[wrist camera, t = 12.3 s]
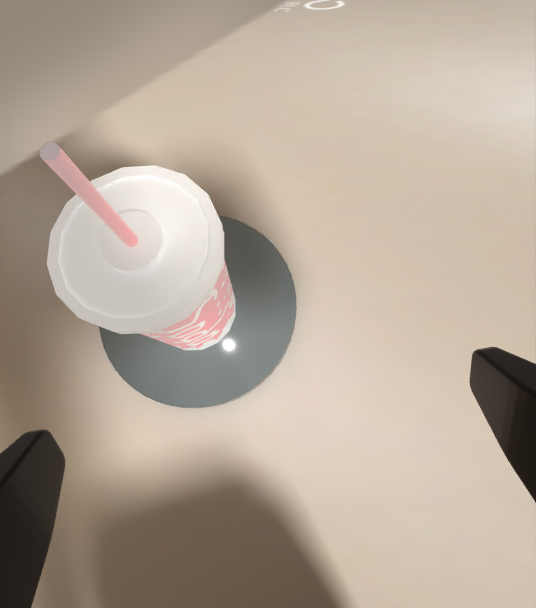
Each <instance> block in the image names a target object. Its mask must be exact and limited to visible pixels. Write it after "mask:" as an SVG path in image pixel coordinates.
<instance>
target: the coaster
mask: <svg viewBox="0 0 536 608" xmlns="http://www.w3.org/2000/svg"><path fill="white" fill-rule="evenodd" d="M218 217H219V219H220V221H221V223H222V226H223V231H224V260H225V263H226V267H227V271H228V274H229V278H230V282H231V285H232V289H233V293H234V297H235V312H236V316H235V318H234V321H233V323H232V325H231V328H230V330H229V332H228V333H227V334H226V335H225V336H224V337H223V338H222V339H221V340H220V341H219V342H218V343H216V344H214V345H212V346H210V347H207V348H205V349H203V350H183V349H181V348H178V347H175V346H172V345H170V344H167V343H164V342H161V341H159V340H156V339H153V338H150V337H148V336H145V335H142V334H140V333H136V334H119V333H116V332H113V331H110V330H108V329H105V328H102V327H100V333H101V338H102V342H103V345H104V349H105V351H106V353H107V356H108V358H109V360H110V361H111V363H112V365H113V366H114V368H115V370H116V371H117V372H118V373H119V375H120V376H121V377H122V378H123V379H124V380H125V381H126V382H127V383H128V384H129V385H130V386H131V387H133V388H134V389H135V390H137V391H138V392H140V393H141V394H143V395H144V396H146V397H148V398H150V399H153V400H155V401H157V402H160V403H163V404H167V405H171V406H177V407H183V408H204V407H213V406H217V405H221V404H225V403H228V402H230V401H233V400H235V399H238V398H240V397H242V396H243V395H245V394H247V393H249V392H250V391H252V390H253V389H254V388H256V387H257V386H258V385H260V384H261V383H262V382H263V381H264V380H265V379H266V378H267V377H268V376H269V375H270V374H271V373H272V372H273V371H274V369H275V368H276V367H277V366H278V364H279V363H280V361H281V359H282V358H283V356H284V354H285V353H286V351H287V348H288V346H289V344H290V341H291V338H292V335H293V331H294V327H295V319H296V294H295V287H294V283H293V280H292V276H291V273H290V271H289V269H288V266H287V264H286V262H285V261H284V259H283V257H282V256H281V254H280V253H279V251H278V250H277V249H276V248H275V247H274V245H273V244H272V243H271V242H270V241H269V240H268V239H267V238H266V237H264V236H263V235H262V234H260V233H259V232H258V231H256V230H255V229H253V228H251V227H249V226H248V225H246V224H244V223H241V222H239V221H236V220H233V219H230V218H226V217H221V216H218Z"/></svg>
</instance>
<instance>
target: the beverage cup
mask: <svg viewBox="0 0 536 608" xmlns="http://www.w3.org/2000/svg"><path fill="white" fill-rule="evenodd" d="M40 157H41V158H42V159H43V160H44V161H45V162H46V163H47V164H48V165H49V166H50V168H51V169H52V170H53V171H54V172H55V173H56V174H57V175H58V176H59V177H60V178H61V179H62V180H63V181H64V182H65V183H66V184H67V185H68V186H69V187H70V188H71V189H72V190H73V191H74V192H75V193H76V195H75V196H73V197H72V198H71V199H70V200H69V201H68V202H67V203H66V204H65V206H64V208H63V210H62V212H61V213H60V215H59V217H58V219H57V221H56V223H55V224H54V226H53V228H52V230H51V232H50V239H49V248H48V256H47V267H48V270H49V274H50V277H51V280H52V283H53V286H54V289H55V293H56V295H57V296H58V297H59V298H60V299H61V300H62V301H63V302H64V303H65V304H66V305H67V306H68V307H69V309H70V310H71V311H72V312H73V313H74V314H75V315H76V316H77V317H78V318H80V319H82V320H84V321H87V322H89V323H92V324H95V325H97V326H100V327H102V328H105V329H108V330H110V331H113V332H116V333H119V334H136V333H140V334H142V335H145V336H148V337H150V338H153V339H156V340H159V341H161V342H164V343H167V344H170V345H172V346H175V347H178V348H181V349H183V350H203V349H205V348H207V347H210V346H212V345H214V344H216V343H218V342H219V341H220V340H221V339H222V338H223V337H224V336H225V335H226V334H227V333H228V332H229V330H230V328H231V325H232V323H233V321H234V318H235V316H236V312H235V297H234V293H233V289H232V285H231V282H230V278H229V274H228V271H227V267H226V263H225V260H224V231H223V226H222V223H221V221H220V219H219V217H218V214H217V212H216V210H215V208H214V206H213V204H212V201H211V199H210V197H209V195H208V194H207V193H206V192H205V191H204V190H202V189H201V188H200V187H199V186H198V185H197V184H195V183H194V182H193V181H192V180H191V179H190V178H188V177H187V176H186V175H185V174H181V173H178V172H175V171H172V170H168V169H165V168H162V167H159V166H156V165H152V166H136V167H122V168H120V169H117V170H115V171H113V172H110V173H108V174H106V175H103V176H101V177H98V178H96V179H94V180H91V181H89V180H88V179H87V178H86V177H85V176H84V174H83V173H82V172H81V171H80V170H79V169H78V167H77V166H76V165H75V164H74V163H73V162H72V161H71V159H70V158H69V157H68V156H67V155H66V154H65V152H64V151H63V150H62V149H61V148H60V147H59V146H58V145H57V144H56V143H47V144H45V145H44V146H43V147H42V148H41V150H40Z"/></svg>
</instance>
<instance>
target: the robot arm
mask: <svg viewBox="0 0 536 608" xmlns="http://www.w3.org/2000/svg"><path fill="white" fill-rule="evenodd" d="M470 387H471V390H472V392H473V394H474V396H475V398H476V400H477V402H478V404H479V406H480V408H481V410H482V412H483V414H484V416H485V418H486V420H487V422H488V423H489V425H490V427H491V429H492V431H493V433H494V435H495V437H496V439H497V441H498V443H499V445H500V447H501V449H502V450H503V452H504V454H505V456H506V457H507V459H508V461H509V462H510V464H511V466H512V467H513V469H514V470H515V472H516V473H517V475H518V476H519V478H520V479H521V481H522V482H523V484H524V485H525V487H526V488H527V490H528V491H529V493H530V494H531V496H532V498H533V499H534V501H535V502H536V364H535V363H532V362H530V361H528V360H525V359H523V358H520V357H518V356H516V355H513V354H511V353H509V352H506V351H504V350H502V349H499V348H497V347H488V348H483V349H478V350H475V351H474V352H473V354H472V361H471V371H470ZM64 469H65V458H64V455H63V453H62V451H61V449H60V448H59V446H58V444H57V443H56V441H55V440H54V438H53V436H52V435H51V433H50V432H49V431H48V430H44V429H42V430H37V431H31V432H27V433H25V434H23V435H22V436H21V437H20V438H19V439H17V440H16V441H15V442H14V443H13V444H11V445H10V446H9V447H8V448H7V449H5V450H4V451H3V452H2V453H1V454H0V608H31V606H32V603H33V599H34V596H35V593H36V589H37V586H38V582H39V579H40V576H41V572H42V569H43V565H44V562H45V559H46V555H47V552H48V548H49V544H50V541H51V537H52V532H53V528H54V523H55V517H56V512H57V507H58V501H59V496H60V491H61V485H62V480H63V475H64Z"/></svg>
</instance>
